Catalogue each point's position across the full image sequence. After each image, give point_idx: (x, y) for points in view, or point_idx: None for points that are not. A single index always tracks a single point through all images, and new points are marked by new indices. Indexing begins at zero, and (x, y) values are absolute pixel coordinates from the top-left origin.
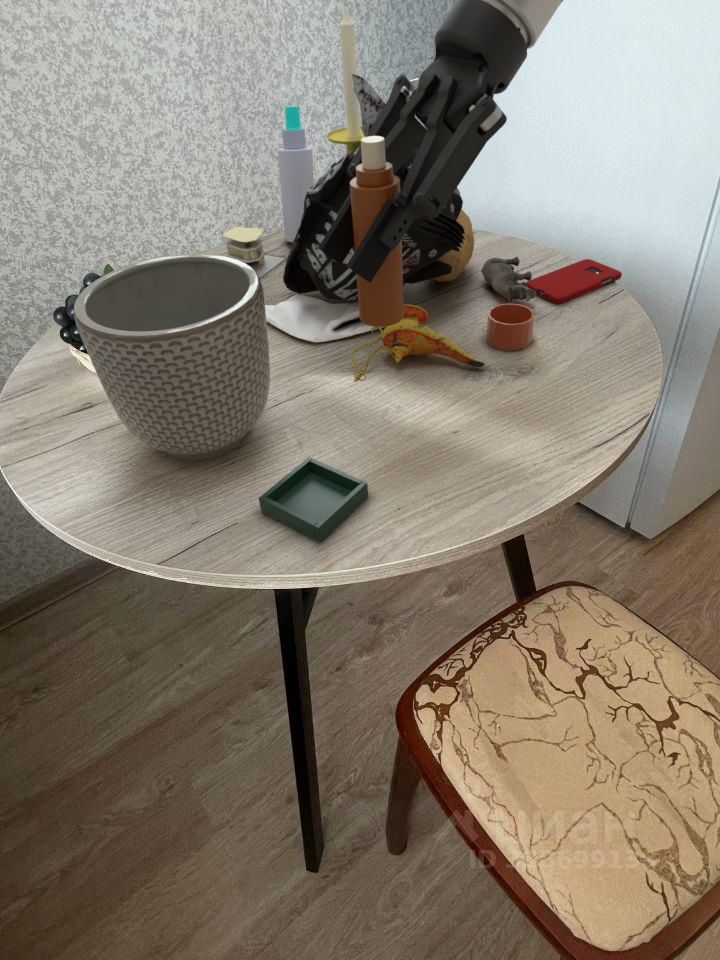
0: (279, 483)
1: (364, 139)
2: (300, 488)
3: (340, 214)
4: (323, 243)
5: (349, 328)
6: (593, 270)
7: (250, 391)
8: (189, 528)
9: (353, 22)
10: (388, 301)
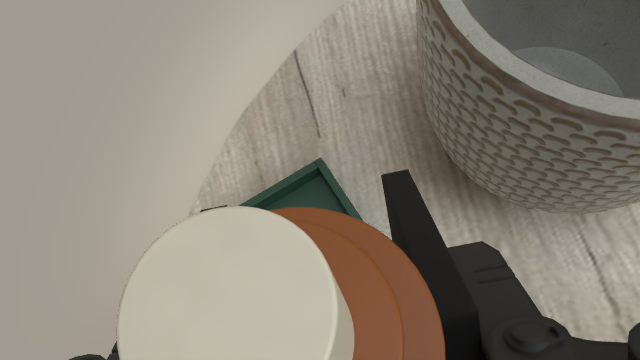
0: (336, 189)
1: (258, 240)
2: None
3: (426, 232)
4: (397, 180)
5: None
6: None
7: (453, 142)
8: (336, 84)
9: None
10: None
